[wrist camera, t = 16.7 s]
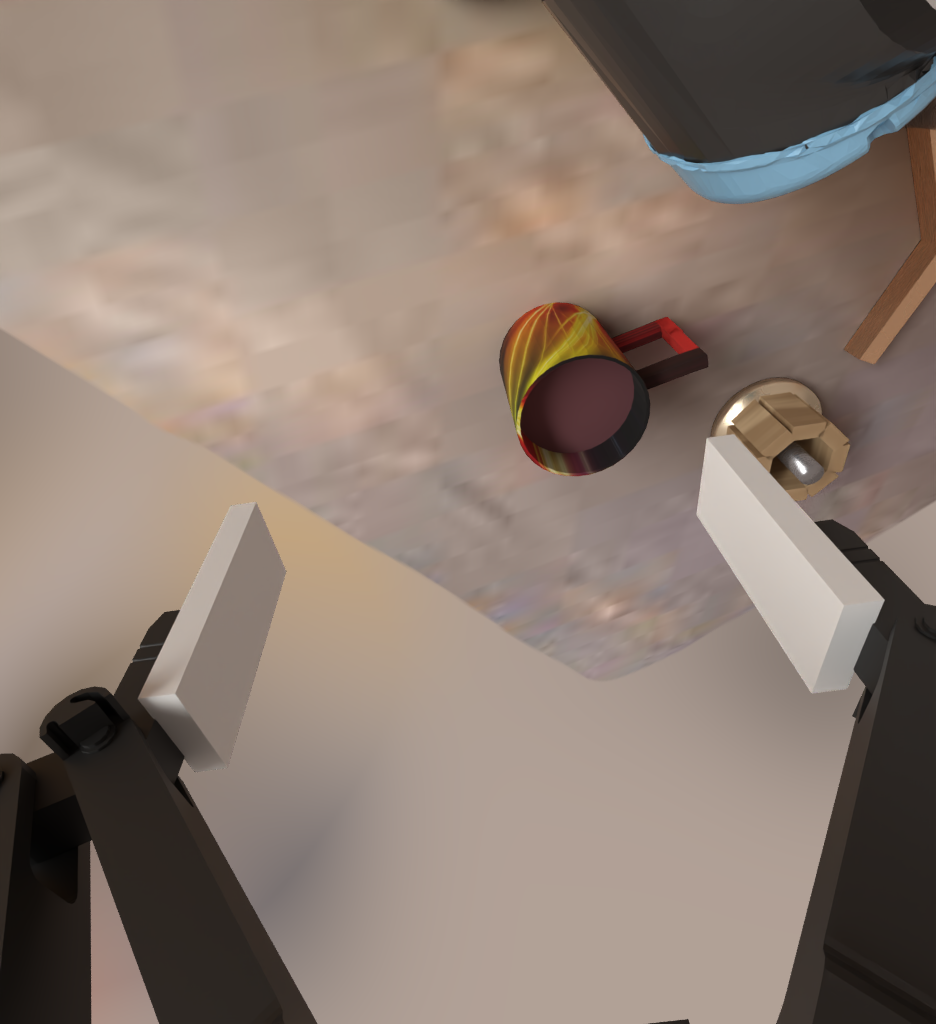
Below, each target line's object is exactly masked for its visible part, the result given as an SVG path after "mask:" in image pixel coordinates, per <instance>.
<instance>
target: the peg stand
mask: <svg viewBox="0 0 936 1024" xmlns="http://www.w3.org/2000/svg"><path fill="white" fill-rule="evenodd" d="M787 392H791V393H792V394H793V395H794V394H796V395H798V396H799V397H800V398H801V399H803V400H804V401H805V402H806V403H808V404H809V405H810V406H811V407H812V408H814V409H815V410H816V411H817V412H819V413H820V414H821V415H822V410H821V405H820V402H819V400H818V398H817V396H816V395H815V394H814V393H813V392H812V391H811V390H810V389H808V388H807V387H806V386H804V385H803V384H802V383H800V382H798V381H796V380H793V379H789V378H770V379H765V380H762V381H758V382H756V383H754V384H751V385H749V386H747V387H746V388H744V389H742V390H741V391H739V392H738V393H737V394H735V395H734V396H733V397H732V398H731V399H730V400H729V401H728V402H727V403H726V404H725V405H724V406H723V408H722V409H721V410H720V412H719V413H718V415H717V417H716V419H715V421H714V424H713V426H712V431H711V437H717V436H724V435H726V433H727V427H728V426H729V425H734V424H733V423H732V422H731V420H732V419H733V418H734V417H735V416H737V415H738V414H739V413H740V412H741V411H742V410H743V409H744V408H745V407H746V406H748V405H749V404H750V403H751V402H752V401H753V400H754V399H755V400H756V401H757V402H758V403H759V400H760V396H766V395H773V394H780V393H787ZM776 457H777V458H778V459H779V460H780V461H781V462H782V463H783V464H784V465H785V466H786V467H787V468H788V469H789V470H790V471H791V472H792V473H793V474H794V475H795V476H796V477H797V478H798V480H799V481H800V482H801V483H803V484H805V485H811V484H814V483H816V482H818V481H819V480H820V479H821V478H822V477H823V475H824V468H823V467H822V466H821V465H820V464H819V463H818V462H817V461H816V460H815V459H813V458H812V457H811V456H810V455H809V454H808V453H807V452H806V451H805V450H804V449H803V448H802V447H801V446H800V445H799V444H797V443H796V442H795V441H793V442H792V443H791V444H790V445H788V446H787V447H786V448H785V449H784V450H782V451H781V452H780V453H779V454H778V455H776Z"/></svg>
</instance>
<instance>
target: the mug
mask: <svg viewBox="0 0 936 1024" xmlns="http://www.w3.org/2000/svg"><path fill="white" fill-rule="evenodd" d="M662 337H663V338H664V340H665V341H666V342H667V343H668V344H669V345H670V346H671V347H672V348H673V349H674V350H675V351H676V352H677V353H678V354H679V355H676V356H674V357H671V358H668V359H666V360H663V361H661V362H658V363H655V364H653V365H650V366H648V367H645V368H643V369H640V370H637V371H636V370H635V369H634V368H633V366H632V365H631V364H630V362H629V361H628V360H627V358H626V357H625V356H624V355H623V353H624V352H627V351H629V350H632V349H634V348H637V347H639V346H642V345H644V344H647V343H649V342H652V341H654V340H657V339H659V338H662ZM499 363H500V371H501V375H502V379H503V383H504V386H505V390H506V394H507V398H508V401H509V405H510V409H511V413H512V416H513V420H514V424H515V427H516V431H517V435H518V438H519V441H520V444H521V446H522V448H523V450H524V451H525V453H526V455H527V456H528V457H529V458H530V459H531V460H532V461H533V462H534V463H535V464H537V465H538V466H540V467H541V468H543V469H544V470H547V471H549V472H552V473H554V474H559V475H564V476H582V475H589V474H593V473H596V472H599V471H602V470H604V469H606V468H609V467H611V466H613V465H614V464H616V463H617V462H619V461H620V460H621V459H623V458H624V457H625V456H626V455H627V454H628V453H629V452H630V451H631V450H632V449H633V448H634V447H635V446H636V444H637V443H638V442H639V440H640V439H641V437H642V435H643V433H644V431H645V429H646V426H647V423H648V419H649V414H650V400H649V394H648V390H647V389H650V388H653V387H655V386H658V385H660V384H663V383H666V382H668V381H671V380H674V379H676V378H679V377H682V376H684V375H687V374H689V373H692V372H695V371H698V370H701V369H704V368H707V367H708V357H707V354H706V353H705V352H703V351H702V350H701V349H700V348H699V347H698V346H697V345H696V344H695V343H694V342H693V341H691V340H690V339H689V338H688V337H687V336H686V335H685V334H684V333H683V331H682V330H681V329H680V328H679V327H678V326H677V325H676V324H675V323H674V322H673V321H671V320H670V319H669V318H668V317H665V318H662V319H659V320H656V321H654V322H651V323H649V324H646V325H644V326H641V327H639V328H636V329H634V330H631V331H629V332H626V333H624V334H621V335H619V336H616V337H614V338H610V336H609V335H608V334H607V332H606V331H605V330H604V328H603V327H602V326H601V324H600V323H599V322H598V320H597V319H596V318H595V317H594V316H593V315H592V314H591V313H589V312H588V311H587V310H585V309H583V308H581V307H579V306H577V305H573V304H569V303H550V304H545V305H542V306H539V307H536V308H534V309H532V310H530V311H529V312H527V313H525V314H524V315H523V316H522V317H520V318H519V319H518V320H517V321H516V322H515V323H514V324H513V326H512V327H511V328H510V329H509V331H508V333H507V335H506V336H505V338H504V340H503V344H502V347H501V350H500V359H499Z"/></svg>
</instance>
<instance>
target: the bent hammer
mask: <svg viewBox="0 0 936 1024" xmlns="http://www.w3.org/2000/svg"><path fill="white" fill-rule="evenodd" d="M905 127H906V128H907V135H908V143H909V150H910V158H911V165H912V173H913V180H914V188H915V195H916V202H917V210H918V217H919V225H920V232H921V241H920V242H919V243H918V245H917V246H916V248H915V249H914V250H913V252H912V253H911V255H910V256H909V258H908V259H907V260H906V262H905V263H904V265H903V266H902V267H901V269H900V270H899V272H898V273H897V275H896V276H895V277H894V279H893V280H892V282H891V283H890V284H889V286H888V287H887V289H886V290H885V292H884V293H883V294H882V296H881V297H880V299H879V300H878V302H877V303H876V304H875V306H874V307H873V309H872V310H871V311H870V313H869V314H868V316H867V317H866V319H865V320H864V321H863V323H862V324H861V326H860V327H859V328H858V330H857V331H856V333H855V334H854V336H853V337H852V338H851V340H850V341H849V343H848V344H847V345H846V347H845V348H844V350H845V351H847V352H848V353H850V354H852V355H853V356H855V357H857V358H858V359H860V360H863V361H866V362H869V363H872V364H875V363H876V362H877V360H878V359H879V358H880V356H881V355H882V353H883V352H884V351H885V349H886V348H887V347H888V345H889V344H890V343H891V341H892V340H893V339H894V337H895V336H896V335H897V333H898V332H899V331H900V329H901V328H902V327H903V325H904V324H905V323H906V321H907V320H908V319H909V317H910V316H911V315H912V313H913V312H914V311H915V309H916V308H917V307H918V305H919V304H920V303H921V301H922V300H923V299H924V297H925V296H926V295H927V293H928V292H929V291H930V289H931V288H932V287H933V285H934V284H935V283H936V97H935V98H934V99H933V100H932V101H931V102H930V103H929V104H928V105H927V106H926V107H925V108H924V109H923V110H922V111H921V112H920V113H919V114H918V115H916V116H915V117H914V118H913V119H912V120H911V121H910V122H908V123H907V124H906V125H905Z"/></svg>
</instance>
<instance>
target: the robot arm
mask: <svg viewBox="0 0 936 1024" xmlns="http://www.w3.org/2000/svg"><path fill="white" fill-rule="evenodd" d="M542 3H543V4H544V5H545V7H546V8H547V9H548V11H549V12H550V13H551V15H552V16H553V17H554V18H555V20H556V21H557V22H558V24H559V25H560V26H561V28H562V29H563V30H564V31H565V33H566V34H567V35H568V37H569V38H570V39H571V41H572V42H573V43H574V44H575V46H576V47H577V48H578V50H579V51H580V52H581V54H582V55H583V56H584V57H585V59H586V60H587V61H588V63H589V64H590V65H591V67H592V68H593V69H594V70H595V72H596V73H597V74H598V76H599V77H600V78H601V80H602V81H603V82H604V83H605V85H606V86H607V87H608V89H609V90H610V91H611V93H612V94H613V95H614V97H615V98H616V99H617V100H618V102H619V103H620V104H621V106H622V107H623V108H624V110H625V111H626V112H627V113H628V115H629V116H630V117H631V119H632V120H633V121H634V123H635V124H636V125H637V126H638V128H639V129H640V130H641V132H642V133H643V136H644V139H645V142H646V143H647V145H648V146H649V148H650V150H651V151H652V152H653V153H654V154H657V156H658V157H659V159H660V160H662V161H664V162H665V163H667V164H669V165H670V166H671V167H672V168H673V169H674V170H675V171H676V172H677V174H678V175H679V176H680V177H681V178H682V179H683V180H684V182H685V183H686V184H687V185H688V186H689V187H690V188H691V189H692V190H693V191H694V192H696V193H697V194H699V195H700V196H702V197H704V198H706V199H708V200H711V201H715V202H719V203H727V204H744V203H752V202H759V201H763V200H767V199H771V198H775V197H778V196H781V195H785V194H788V193H790V192H793V191H796V190H798V189H801V188H804V187H806V186H808V185H810V184H813V183H815V182H817V181H819V180H821V179H823V178H825V177H827V176H829V175H831V174H833V173H835V172H837V171H839V170H840V169H842V168H844V167H846V166H847V165H849V164H850V163H852V162H854V161H855V160H857V159H858V158H860V157H862V156H863V155H865V154H866V153H868V151H869V149H870V143H871V142H872V141H873V140H874V139H875V138H877V137H879V136H882V135H884V134H888V133H893V132H897V131H899V130H900V129H901V128H902V127H903V126H905V125H906V124H907V123H908V122H910V121H911V120H912V119H913V118H914V117H915V116H916V115H918V114H919V113H920V112H921V111H922V110H923V109H924V108H925V107H926V106H927V105H928V104H929V103H930V102H931V101H932V100H933V99H934V98H935V97H936V0H542ZM697 516H698V518H699V519H700V521H701V522H702V524H703V525H704V527H705V529H706V530H707V532H708V533H709V535H710V536H711V538H712V539H713V541H714V543H715V544H716V546H717V547H718V549H719V550H720V552H721V553H722V555H723V557H724V558H725V560H726V561H727V563H728V564H729V566H730V567H731V569H732V571H733V572H734V574H735V575H736V577H737V578H738V580H739V581H740V583H741V584H742V586H743V588H744V589H745V591H746V592H747V594H748V595H749V597H750V598H751V600H752V602H753V603H754V605H755V606H756V608H757V609H758V611H759V612H760V614H761V616H762V617H763V618H764V620H765V622H766V623H767V625H768V626H769V628H770V630H771V631H772V633H773V634H774V636H775V637H776V639H777V640H778V642H779V644H780V645H781V647H782V648H783V650H784V651H785V653H786V654H787V656H788V657H789V659H790V660H791V662H792V664H793V665H794V667H795V668H796V670H797V671H798V673H799V674H800V676H801V677H802V679H803V681H804V682H805V684H806V685H807V687H808V689H809V690H810V691H811V693H818V692H827V691H835V690H843V689H847V687H848V685H849V683H850V681H851V678H852V676H853V673H854V671H855V672H856V674H857V675H858V676H859V678H860V679H861V681H862V682H863V683H864V684H865V686H866V687H865V689H864V691H863V694H862V696H861V698H860V700H859V703H858V705H857V707H856V709H855V711H854V714H853V717H855V718H856V721H855V724H854V728H853V732H852V736H851V740H850V744H849V748H848V752H847V756H846V759H845V763H844V767H843V771H842V775H841V779H840V783H839V787H838V791H837V795H836V799H835V803H834V807H833V811H832V815H831V819H830V822H829V826H828V830H827V834H826V838H825V842H824V846H823V850H822V854H821V858H820V862H819V866H818V870H817V874H816V878H815V882H814V886H813V889H812V894H811V897H810V901H809V905H808V909H807V913H806V917H805V921H804V925H803V929H802V933H801V937H800V941H799V945H798V949H797V953H796V957H795V961H794V964H793V968H792V972H791V976H790V980H789V984H788V988H787V992H786V996H785V999H784V1003H783V1006H782V1009H781V1012H780V1015H779V1018H778V1020H777V1023H776V1024H936V606H933V605H928V604H924V603H923V602H922V601H921V600H920V599H919V598H918V597H917V596H916V595H915V594H914V593H913V592H912V591H911V589H909V587H907V585H906V584H905V583H904V582H903V581H902V580H901V579H900V578H899V577H898V576H897V575H896V574H895V573H894V572H893V571H892V570H891V569H890V568H889V567H888V566H887V565H886V564H885V563H884V562H883V561H880V558H879V557H878V556H877V555H876V554H875V553H874V552H873V551H872V550H871V549H868V546H867V545H866V544H865V543H864V542H863V541H862V540H861V538H860V537H859V536H858V535H857V534H856V533H855V532H854V531H852V530H850V529H848V528H847V527H845V526H843V525H841V524H839V523H838V522H836V521H834V520H825V521H818V522H813V521H812V520H811V518H810V517H809V516H808V515H807V514H806V513H805V512H804V511H803V510H802V509H801V507H800V506H799V505H798V504H797V503H796V502H795V501H794V500H793V499H792V498H791V496H790V495H789V494H788V493H787V492H786V491H785V490H784V489H783V488H782V487H781V485H780V484H779V483H778V482H777V481H776V480H775V479H774V478H773V477H772V475H771V474H770V473H769V472H768V471H767V470H766V469H765V468H764V467H763V466H762V464H761V463H760V462H759V461H758V460H757V459H756V458H755V457H754V456H753V455H752V453H751V452H750V451H749V450H748V449H747V448H746V447H745V446H744V445H743V444H742V442H741V441H740V440H739V439H738V438H737V437H736V436H735V435H734V434H731V435H724V436H717V437H710V438H707V441H706V448H705V456H704V463H703V471H702V478H701V486H700V493H699V501H698V508H697ZM285 574H286V570H285V567H284V565H283V563H282V560H281V558H280V556H279V554H278V551H277V549H276V547H275V544H274V542H273V539H272V537H271V535H270V533H269V530H268V528H267V526H266V523H265V521H264V519H263V516H262V514H261V512H260V510H259V507H258V505H257V502H252V503H245V504H239V505H231V506H230V508H229V511H228V512H227V515H226V516H225V519H224V521H223V523H222V525H221V527H220V529H219V531H218V533H217V535H216V537H215V539H214V541H213V543H212V545H211V548H210V550H209V552H208V554H207V556H206V558H205V560H204V562H203V565H202V566H201V568H200V570H199V572H198V575H197V577H196V579H195V581H194V583H193V585H192V587H191V589H190V591H189V593H188V595H187V597H186V599H185V602H184V604H183V606H182V608H181V610H177V611H170V612H164V614H162V615H161V616H160V617H159V618H158V620H157V621H156V622H155V623H154V624H153V625H152V626H151V627H150V628H149V629H148V631H147V633H146V635H145V637H144V639H143V641H142V642H141V644H140V649H138V650H137V652H136V654H135V656H134V658H133V663H131V664H130V665H129V667H128V669H127V671H126V673H125V675H124V677H123V679H122V681H121V682H120V684H119V686H118V688H117V690H116V692H115V694H114V696H113V695H112V694H111V693H110V692H109V691H108V690H107V689H105V688H102V687H90V688H86V689H81V690H79V691H77V692H75V693H73V694H71V695H69V696H67V697H66V698H65V699H63V700H62V701H61V702H59V703H58V704H57V705H55V706H54V708H53V709H52V710H51V711H50V712H49V713H48V714H47V715H46V717H45V719H44V720H43V722H42V725H41V726H40V738H41V739H42V740H43V741H44V742H45V743H46V744H47V745H48V746H49V747H50V748H51V749H52V750H53V751H54V753H52V754H49V755H47V756H44V757H42V758H39V759H37V760H34V761H32V762H29V763H27V764H26V763H25V762H24V761H22V760H21V759H20V758H19V757H17V756H16V755H14V754H0V1024H91V915H90V914H91V913H90V912H91V909H90V904H91V903H90V841H91V840H92V841H93V844H94V846H95V849H96V852H97V854H98V857H99V860H100V863H101V866H102V868H103V871H104V874H105V876H106V879H107V882H108V885H109V887H110V890H111V893H112V896H113V898H114V901H115V904H116V907H117V909H118V912H119V915H120V917H121V920H122V923H123V925H124V929H125V931H126V934H127V937H128V940H129V942H130V945H131V948H132V951H133V953H134V956H135V959H136V961H137V964H138V967H139V970H140V972H141V975H142V978H143V981H144V983H145V986H146V989H147V992H148V994H149V997H150V1000H151V1002H152V1005H153V1008H154V1011H155V1013H156V1016H157V1019H158V1022H159V1024H317V1022H316V1020H315V1019H314V1017H313V1015H312V1013H311V1011H310V1009H309V1008H308V1006H307V1004H306V1002H305V1001H304V999H303V997H302V995H301V993H300V991H299V990H298V988H297V986H296V984H295V982H294V981H293V979H292V977H291V975H290V973H289V972H288V970H287V968H286V966H285V964H284V963H283V961H282V959H281V957H280V956H279V954H278V952H277V950H276V948H275V946H274V945H273V943H272V941H271V939H270V937H269V936H268V934H267V932H266V930H265V928H264V927H263V925H262V923H261V921H260V919H259V918H258V916H257V914H256V912H255V910H254V909H253V907H252V905H251V903H250V902H249V900H248V898H247V896H246V894H245V892H244V891H243V889H242V887H241V885H240V883H239V882H238V880H237V878H236V876H235V874H234V873H233V871H232V869H231V867H230V865H229V864H228V862H227V860H226V858H225V856H224V855H223V853H222V851H221V849H220V847H219V845H218V844H217V842H216V840H215V838H214V837H213V835H212V833H211V831H210V829H209V827H208V826H207V824H206V822H205V820H204V818H203V817H202V815H201V813H200V811H199V809H198V808H197V806H196V804H195V802H194V801H193V799H192V797H191V795H190V793H189V791H188V790H187V788H186V786H185V784H184V782H183V781H182V780H181V779H180V777H179V776H178V773H179V770H180V768H181V765H182V762H183V760H184V759H185V760H186V761H187V763H188V764H189V765H190V767H191V768H192V769H193V771H194V772H200V771H208V770H216V769H224V768H228V765H229V762H230V759H231V755H232V752H233V748H234V745H235V742H236V738H237V735H238V732H239V728H240V725H241V721H242V718H243V715H244V711H245V708H246V705H247V701H248V698H249V695H250V691H251V688H252V685H253V681H254V678H255V674H256V671H257V668H258V665H259V661H260V657H261V655H262V651H263V648H264V644H265V641H266V638H267V634H268V631H269V628H270V624H271V621H272V618H273V614H274V611H275V608H276V604H277V601H278V597H279V594H280V591H281V587H282V584H283V581H284V577H285ZM650 1024H689V1020H688V1019H687V1020H677V1021H668V1022H659V1023H650Z"/></svg>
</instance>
